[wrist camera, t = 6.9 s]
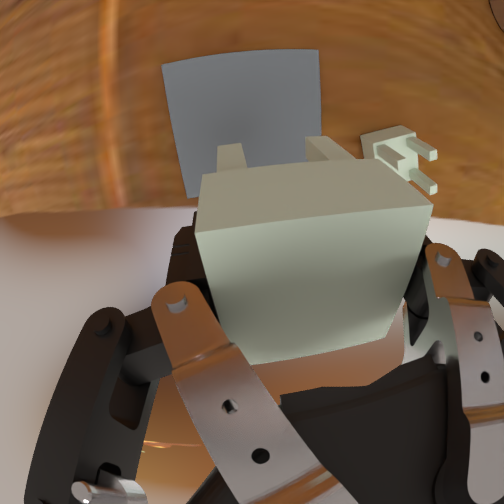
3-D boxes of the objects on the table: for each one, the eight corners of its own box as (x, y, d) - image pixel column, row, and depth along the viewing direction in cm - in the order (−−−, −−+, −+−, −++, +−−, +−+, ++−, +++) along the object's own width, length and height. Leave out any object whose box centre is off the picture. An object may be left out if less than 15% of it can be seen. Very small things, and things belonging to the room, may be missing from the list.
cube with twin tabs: (207, 139, 11) (194, 233, 5) (333, 128, 11) (433, 204, 5) (226, 243, 14) (234, 367, 9) (329, 229, 14) (384, 337, 9)
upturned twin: (359, 135, 25) (393, 158, 20) (400, 124, 25) (439, 145, 19) (367, 179, 29) (397, 209, 23) (405, 167, 28) (439, 194, 23)
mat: (162, 64, 19) (161, 64, 19) (316, 50, 20) (318, 49, 19) (188, 195, 28) (187, 198, 28) (318, 179, 28) (320, 182, 28)
